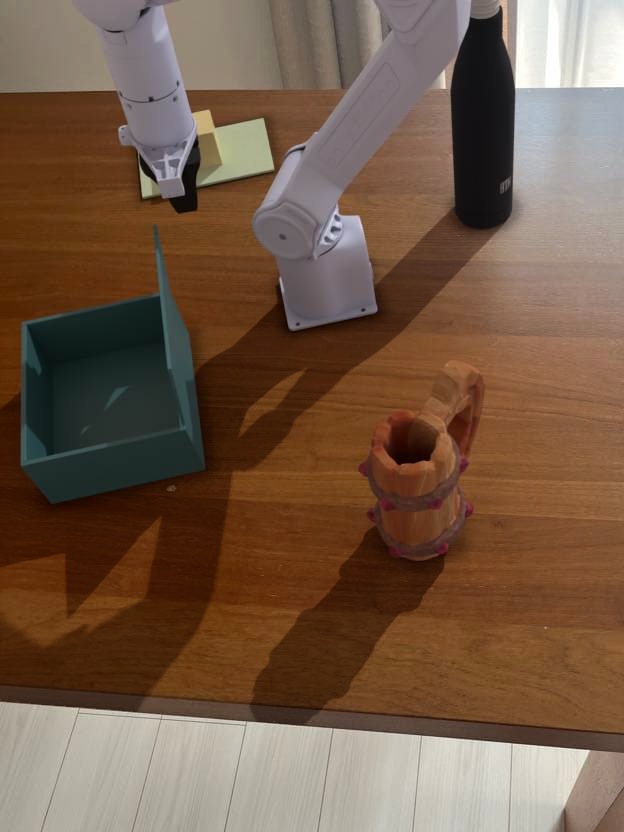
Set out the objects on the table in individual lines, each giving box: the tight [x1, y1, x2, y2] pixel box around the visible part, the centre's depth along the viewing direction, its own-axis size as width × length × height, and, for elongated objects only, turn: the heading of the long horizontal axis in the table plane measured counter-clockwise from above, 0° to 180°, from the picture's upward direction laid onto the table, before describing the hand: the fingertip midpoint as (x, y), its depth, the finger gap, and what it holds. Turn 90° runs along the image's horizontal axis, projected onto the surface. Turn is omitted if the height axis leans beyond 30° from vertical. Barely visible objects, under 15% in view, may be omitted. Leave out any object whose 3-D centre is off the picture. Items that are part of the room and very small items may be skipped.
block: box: [191, 109, 223, 169], centre depth 106 cm, size 4×4×4 cm
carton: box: [20, 291, 206, 505], centre depth 86 cm, size 15×18×6 cm
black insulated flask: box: [449, 0, 516, 230], centre depth 86 cm, size 6×6×30 cm
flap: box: [152, 224, 185, 425], centre depth 80 cm, size 7×18×1 cm
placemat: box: [137, 117, 276, 200], centre depth 108 cm, size 16×10×1 cm, turn 102°
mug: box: [357, 359, 486, 562], centre depth 74 cm, size 15×8×15 cm, turn 148°
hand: (186, 207), depth 89 cm, fingers closed
